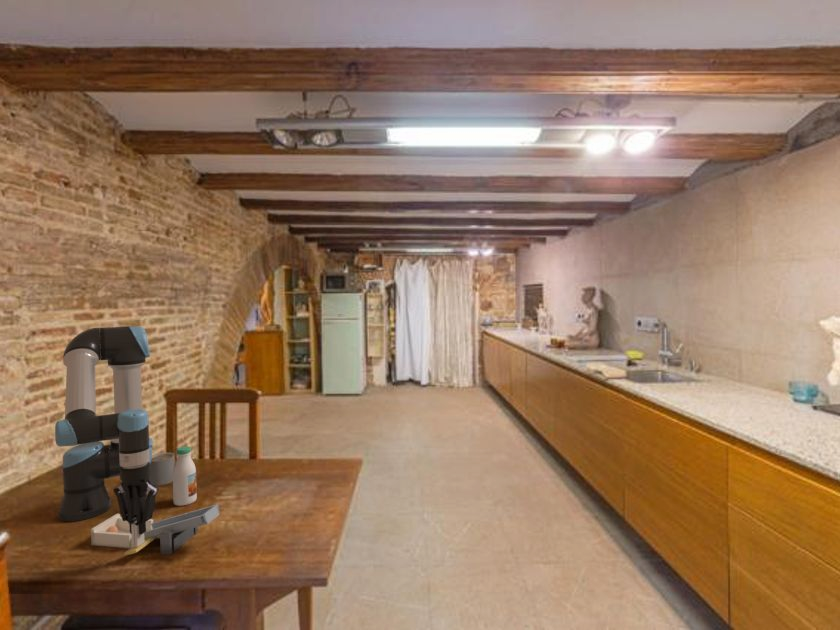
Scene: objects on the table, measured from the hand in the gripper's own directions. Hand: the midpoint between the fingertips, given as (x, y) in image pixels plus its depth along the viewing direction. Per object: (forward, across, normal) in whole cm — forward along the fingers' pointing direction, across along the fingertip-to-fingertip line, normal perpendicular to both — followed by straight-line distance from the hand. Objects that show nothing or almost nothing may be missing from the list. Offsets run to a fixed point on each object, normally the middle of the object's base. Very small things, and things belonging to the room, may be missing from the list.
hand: (138, 544), depth 133 cm
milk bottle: (+3, -10, +34) cm, 36 cm away
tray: (+3, -12, +8) cm, 15 cm away
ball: (+1, -16, +8) cm, 18 cm away
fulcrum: (+4, +7, +8) cm, 11 cm away
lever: (-1, +7, +5) cm, 9 cm away
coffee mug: (+3, -34, +50) cm, 61 cm away
